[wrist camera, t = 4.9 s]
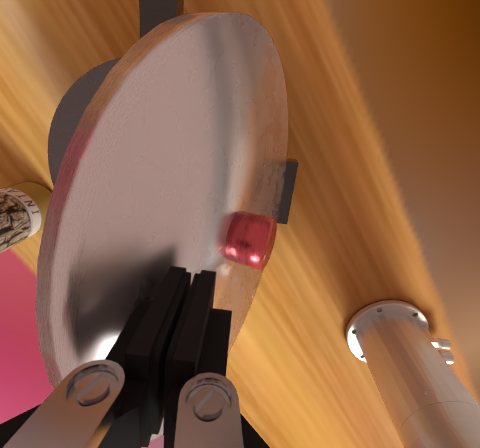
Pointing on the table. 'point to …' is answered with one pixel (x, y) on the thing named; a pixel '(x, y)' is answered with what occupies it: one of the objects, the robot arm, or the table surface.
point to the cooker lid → (165, 184)
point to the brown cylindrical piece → (22, 212)
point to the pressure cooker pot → (83, 90)
